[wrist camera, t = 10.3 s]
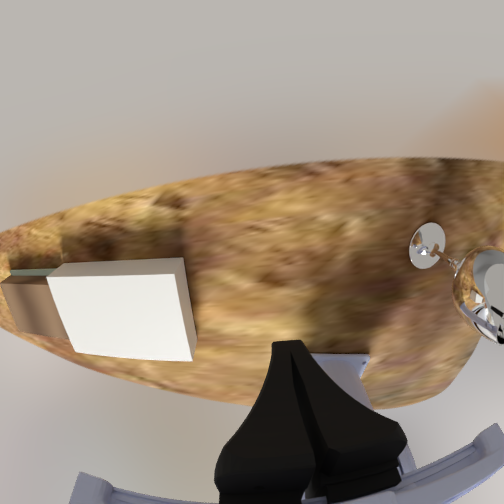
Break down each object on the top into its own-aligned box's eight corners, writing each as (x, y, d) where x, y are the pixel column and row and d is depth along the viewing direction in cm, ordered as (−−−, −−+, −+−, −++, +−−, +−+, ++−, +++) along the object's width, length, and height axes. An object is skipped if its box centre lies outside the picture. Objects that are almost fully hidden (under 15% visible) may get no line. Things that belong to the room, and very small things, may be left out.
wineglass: (406, 284, 22) (483, 367, 11) (397, 228, 21) (498, 297, 9) (451, 261, 22) (532, 325, 11) (446, 206, 20) (546, 255, 9)
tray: (183, 257, 21) (174, 273, 18) (197, 339, 24) (192, 361, 21) (63, 263, 21) (46, 277, 18) (87, 334, 24) (75, 352, 21)
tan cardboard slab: (63, 275, 21) (52, 285, 19) (81, 328, 23) (73, 340, 21) (10, 275, 21) (-1, 283, 19) (27, 321, 23) (18, 331, 21)
